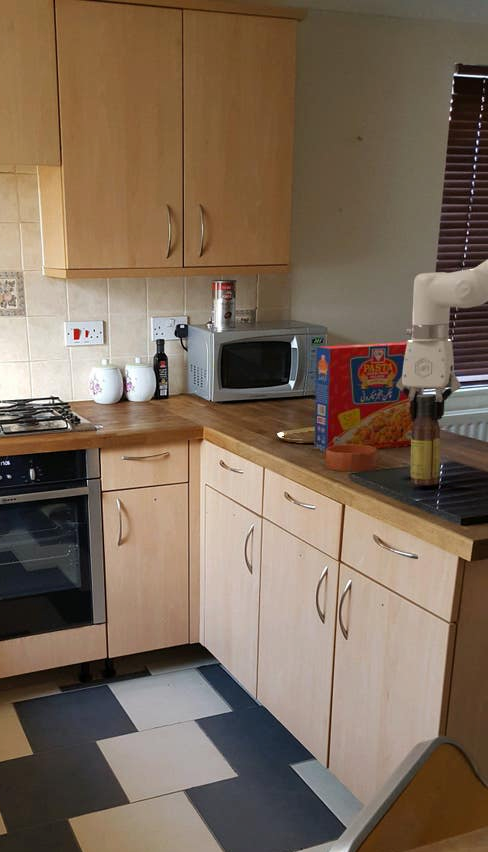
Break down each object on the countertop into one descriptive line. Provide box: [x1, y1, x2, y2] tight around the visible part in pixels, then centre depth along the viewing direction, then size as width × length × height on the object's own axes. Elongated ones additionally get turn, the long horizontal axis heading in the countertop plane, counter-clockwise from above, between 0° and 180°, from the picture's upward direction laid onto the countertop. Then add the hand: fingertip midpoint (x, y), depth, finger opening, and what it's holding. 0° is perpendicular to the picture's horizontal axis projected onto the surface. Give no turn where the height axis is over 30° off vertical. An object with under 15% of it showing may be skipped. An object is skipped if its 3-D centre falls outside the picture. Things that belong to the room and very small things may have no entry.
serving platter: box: [276, 426, 315, 443], centre depth 265 cm, size 19×35×2 cm, turn 120°
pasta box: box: [313, 341, 422, 452], centre depth 242 cm, size 28×8×28 cm, turn 106°
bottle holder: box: [324, 444, 378, 472], centre depth 222 cm, size 13×13×4 cm
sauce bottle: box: [410, 393, 441, 487], centre depth 194 cm, size 7×6×20 cm
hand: (426, 418), depth 193 cm, fingers closed on sauce bottle, 4 cm apart
